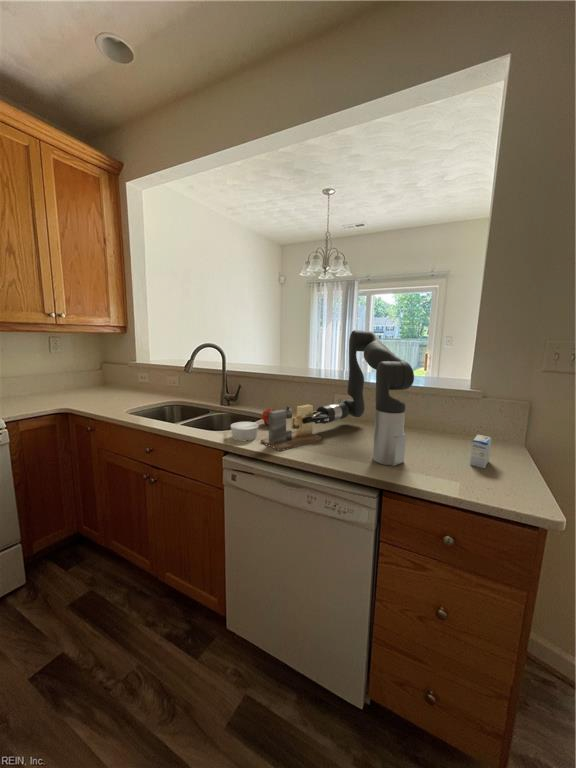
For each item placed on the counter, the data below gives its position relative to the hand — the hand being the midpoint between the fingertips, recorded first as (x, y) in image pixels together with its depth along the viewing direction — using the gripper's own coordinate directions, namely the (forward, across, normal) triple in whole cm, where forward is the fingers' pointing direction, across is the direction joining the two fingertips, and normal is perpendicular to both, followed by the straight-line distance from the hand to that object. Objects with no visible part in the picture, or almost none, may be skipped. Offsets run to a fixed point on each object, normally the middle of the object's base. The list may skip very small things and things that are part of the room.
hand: (300, 420), depth 127 cm
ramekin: (+17, -15, +8) cm, 24 cm away
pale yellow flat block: (-1, 0, +7) cm, 7 cm away
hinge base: (+5, 0, +8) cm, 9 cm away
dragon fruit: (-3, -22, +8) cm, 23 cm away
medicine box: (-29, +56, +8) cm, 64 cm away
